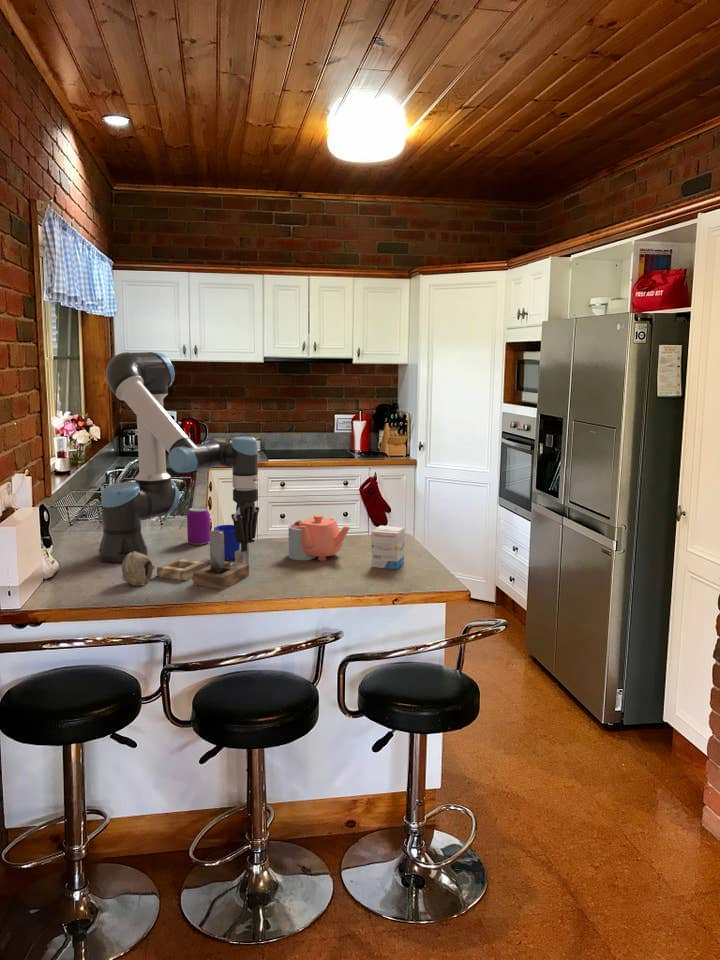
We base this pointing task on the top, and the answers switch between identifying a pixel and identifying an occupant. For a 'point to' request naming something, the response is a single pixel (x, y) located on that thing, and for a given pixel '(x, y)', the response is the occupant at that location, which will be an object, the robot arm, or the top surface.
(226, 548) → the mug
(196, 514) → the beverage can
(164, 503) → the robot arm
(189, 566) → the frame
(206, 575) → the socket block
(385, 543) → the ink box
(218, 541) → the peg
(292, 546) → the mug
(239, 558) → the drift key
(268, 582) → the top surface
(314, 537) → the teapot
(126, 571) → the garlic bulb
